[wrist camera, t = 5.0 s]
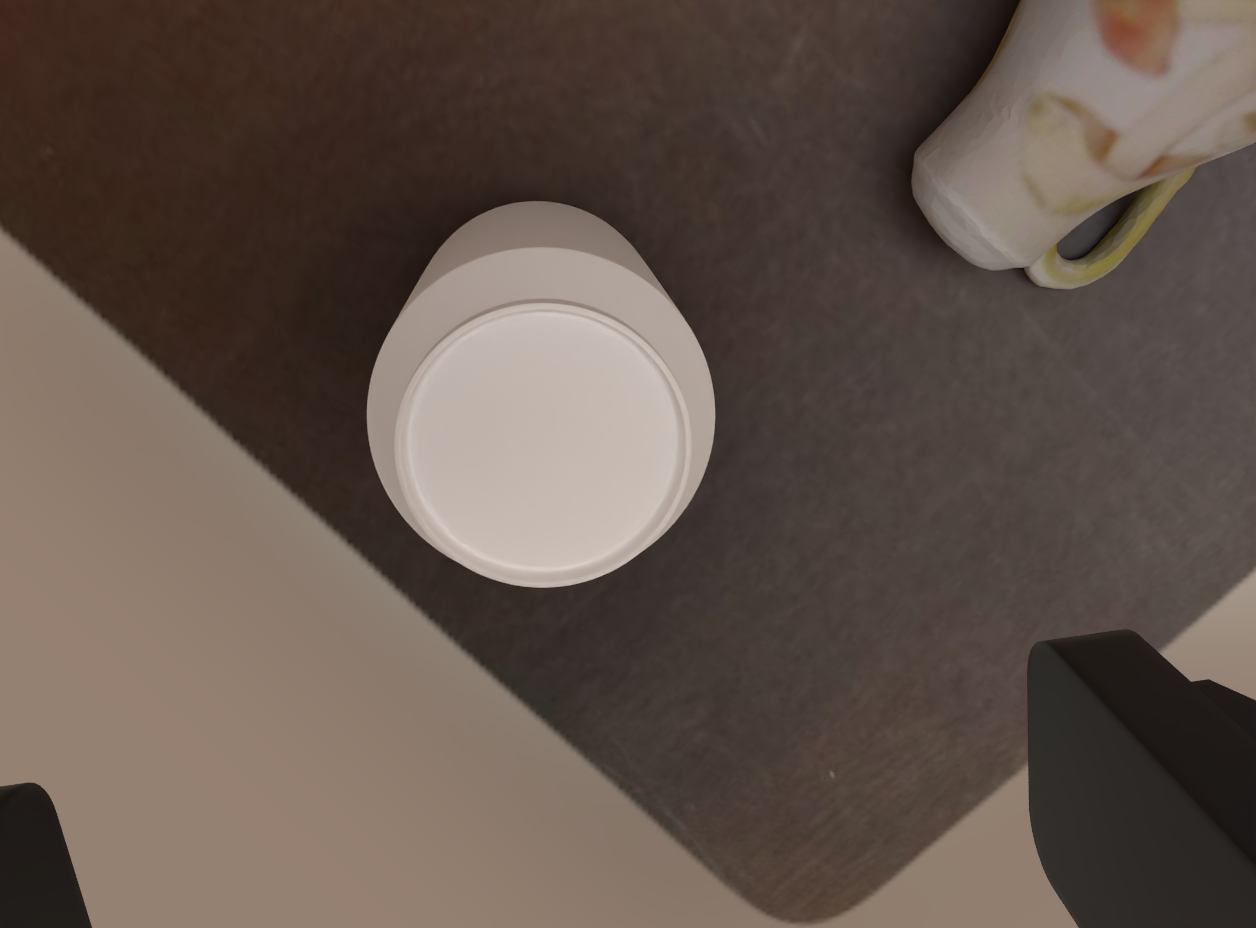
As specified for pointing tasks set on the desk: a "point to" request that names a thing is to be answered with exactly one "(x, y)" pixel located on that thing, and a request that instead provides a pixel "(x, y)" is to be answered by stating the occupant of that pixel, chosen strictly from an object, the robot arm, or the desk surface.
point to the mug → (1087, 128)
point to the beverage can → (540, 400)
